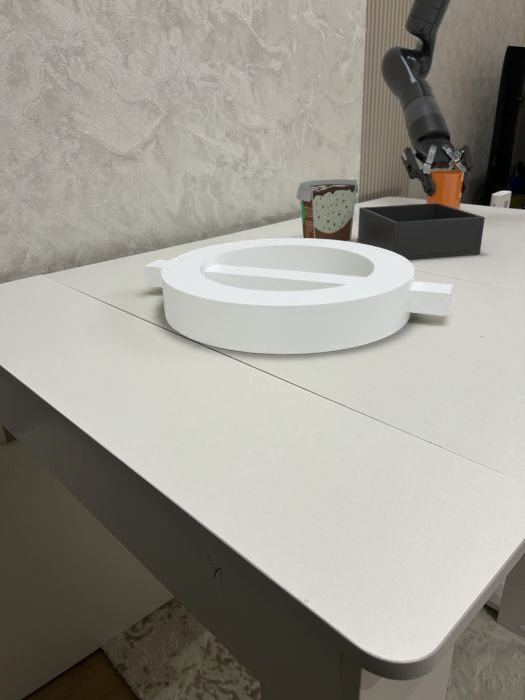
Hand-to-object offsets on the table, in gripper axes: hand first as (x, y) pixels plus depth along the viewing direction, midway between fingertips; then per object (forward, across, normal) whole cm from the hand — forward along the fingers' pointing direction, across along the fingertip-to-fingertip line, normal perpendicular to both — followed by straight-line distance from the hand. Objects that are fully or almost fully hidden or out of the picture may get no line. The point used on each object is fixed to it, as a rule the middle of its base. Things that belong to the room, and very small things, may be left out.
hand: (448, 192), depth 106 cm
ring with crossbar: (+33, -43, -25) cm, 60 cm away
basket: (+17, -16, -10) cm, 26 cm away
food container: (+13, -30, -5) cm, 33 cm away
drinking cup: (+3, 0, +5) cm, 6 cm away
